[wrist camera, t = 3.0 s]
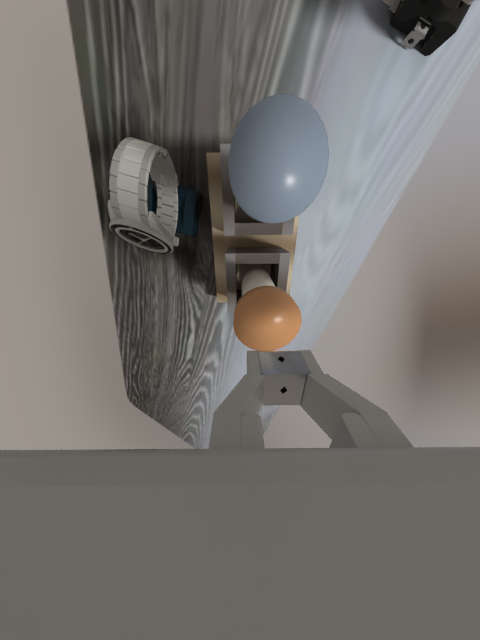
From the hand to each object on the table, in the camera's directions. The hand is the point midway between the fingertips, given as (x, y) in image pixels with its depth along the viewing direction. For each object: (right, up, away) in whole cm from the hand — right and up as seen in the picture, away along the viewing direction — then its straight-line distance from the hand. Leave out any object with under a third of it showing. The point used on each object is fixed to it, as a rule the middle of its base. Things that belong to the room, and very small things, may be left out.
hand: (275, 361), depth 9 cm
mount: (0, +13, +15) cm, 19 cm away
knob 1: (0, +13, +7) cm, 15 cm away
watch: (-9, +15, +13) cm, 22 cm away
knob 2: (0, +6, +11) cm, 13 cm away
